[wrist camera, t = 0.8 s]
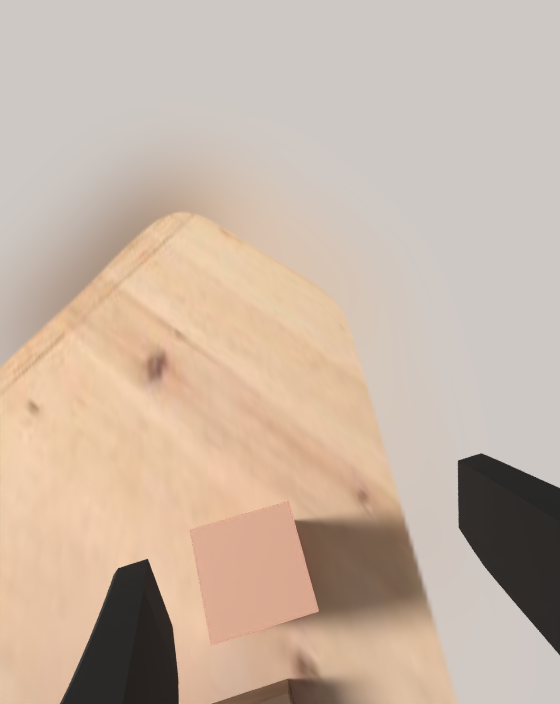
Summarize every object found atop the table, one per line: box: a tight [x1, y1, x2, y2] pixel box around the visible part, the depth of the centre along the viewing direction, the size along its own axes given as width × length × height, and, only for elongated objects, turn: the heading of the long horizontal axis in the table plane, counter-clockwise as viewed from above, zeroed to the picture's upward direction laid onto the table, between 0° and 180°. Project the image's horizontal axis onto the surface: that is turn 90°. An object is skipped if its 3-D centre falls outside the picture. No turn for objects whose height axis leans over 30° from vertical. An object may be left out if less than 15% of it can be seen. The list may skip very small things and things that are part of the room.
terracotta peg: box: [190, 501, 319, 645], centre depth 22 cm, size 4×4×8 cm
